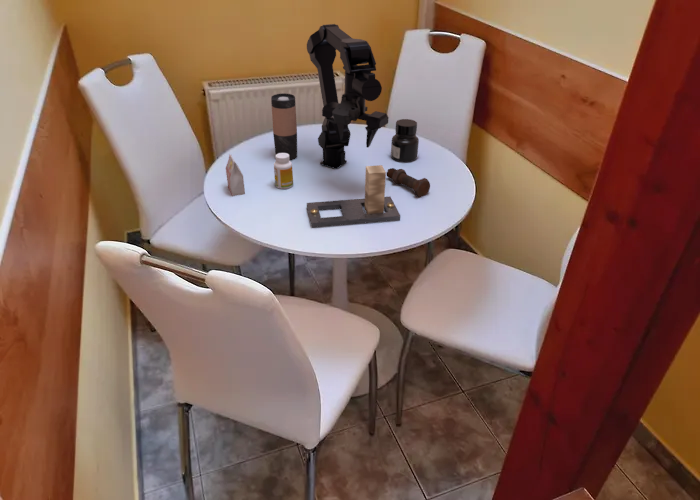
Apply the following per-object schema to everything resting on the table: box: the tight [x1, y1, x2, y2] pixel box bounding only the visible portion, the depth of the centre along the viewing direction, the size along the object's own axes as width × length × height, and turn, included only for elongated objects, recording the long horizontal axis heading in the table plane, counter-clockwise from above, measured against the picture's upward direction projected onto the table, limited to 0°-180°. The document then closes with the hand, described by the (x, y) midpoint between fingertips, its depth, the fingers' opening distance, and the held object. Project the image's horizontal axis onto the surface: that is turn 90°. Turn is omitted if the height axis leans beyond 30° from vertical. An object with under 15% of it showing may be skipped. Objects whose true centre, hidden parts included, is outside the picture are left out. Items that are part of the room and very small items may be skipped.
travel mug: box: [271, 92, 298, 162], centre depth 172 cm, size 8×8×20 cm
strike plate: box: [306, 195, 401, 229], centre depth 146 cm, size 24×11×2 cm, turn 101°
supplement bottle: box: [273, 153, 294, 190], centre depth 158 cm, size 5×5×10 cm
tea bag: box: [225, 154, 246, 197], centre depth 155 cm, size 4×7×10 cm, turn 22°
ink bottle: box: [390, 118, 420, 163], centre depth 175 cm, size 10×9×12 cm
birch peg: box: [363, 164, 387, 214], centre depth 144 cm, size 4×4×13 cm
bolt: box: [386, 168, 431, 198], centre depth 160 cm, size 6×5×15 cm
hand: (354, 143), depth 155 cm, fingers open, 9 cm apart
